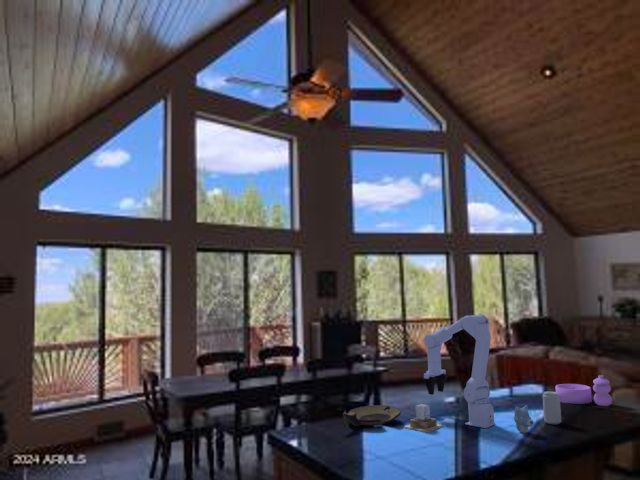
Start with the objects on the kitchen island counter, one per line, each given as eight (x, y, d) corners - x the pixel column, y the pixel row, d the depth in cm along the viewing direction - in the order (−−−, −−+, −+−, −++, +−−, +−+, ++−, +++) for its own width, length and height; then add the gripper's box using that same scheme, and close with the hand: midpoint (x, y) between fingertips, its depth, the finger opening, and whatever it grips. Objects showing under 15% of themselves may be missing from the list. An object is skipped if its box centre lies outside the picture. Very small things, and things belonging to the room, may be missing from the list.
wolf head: (526, 437, 196) (524, 409, 197) (511, 431, 205) (509, 404, 206) (540, 435, 198) (538, 407, 199) (525, 429, 206) (523, 403, 207)
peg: (430, 425, 215) (429, 405, 215) (424, 427, 212) (423, 407, 212) (421, 423, 217) (421, 403, 218) (416, 425, 215) (415, 405, 215)
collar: (442, 426, 214) (442, 418, 215) (427, 432, 207) (427, 424, 207) (419, 422, 222) (419, 414, 222) (404, 427, 214) (403, 420, 215)
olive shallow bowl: (413, 425, 218) (412, 406, 219) (348, 435, 206) (347, 415, 207) (385, 414, 239) (384, 396, 239) (324, 423, 227) (324, 404, 227)
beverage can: (543, 424, 213) (541, 393, 214) (545, 420, 219) (543, 390, 220) (560, 425, 210) (558, 394, 212) (562, 421, 216) (559, 391, 217)
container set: (550, 400, 255) (548, 372, 256) (566, 395, 264) (564, 368, 265) (603, 409, 235) (601, 378, 236) (619, 403, 244) (617, 374, 245)
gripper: (435, 359, 244) (437, 389, 243) (417, 363, 234) (419, 394, 233) (449, 360, 239) (450, 390, 238) (431, 364, 229) (432, 396, 228)
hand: (435, 392), depth 235 cm, fingers open, 7 cm apart
